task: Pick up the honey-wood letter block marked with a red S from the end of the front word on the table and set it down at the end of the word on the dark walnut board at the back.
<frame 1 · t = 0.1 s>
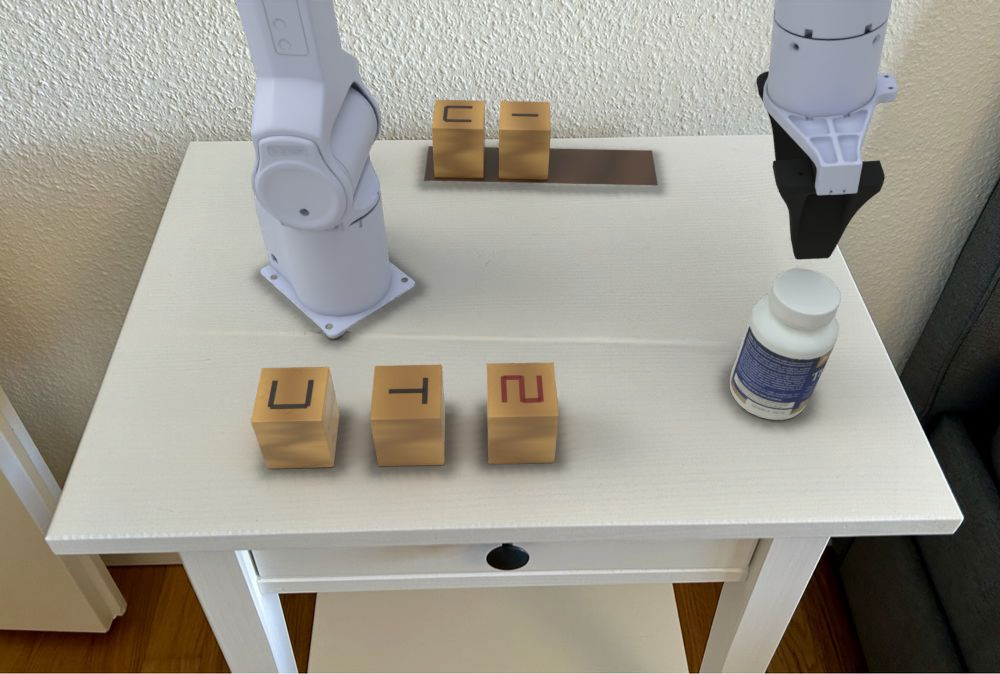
hand: (803, 215, 54), 11 cm above the table, tool pointing down, fingers open, 7 cm apart
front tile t: (412, 438, 55), on the table
word board: (540, 170, 74), on the table
board tile i: (523, 164, 74), point 1 cm above the table, touching word board
pacifier: (307, 189, 73), on the table
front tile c: (304, 441, 55), on the table
wooden letter cube: (519, 436, 55), on the table
pill bottle: (767, 392, 58), on the table
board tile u: (460, 163, 74), point 1 cm above the table, touching word board
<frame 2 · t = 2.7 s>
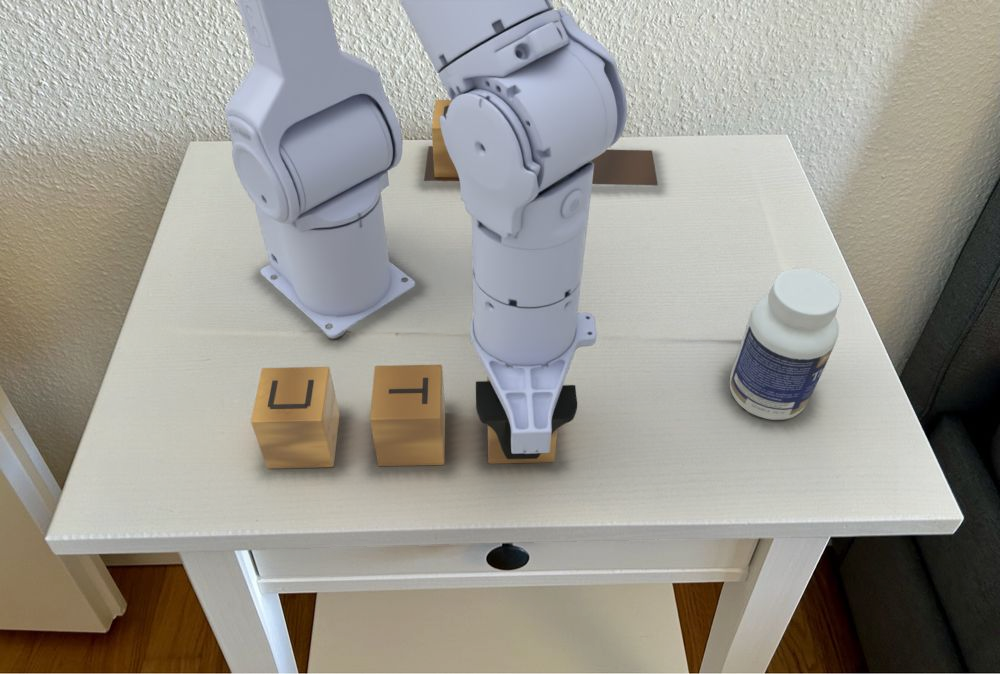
hand: (520, 423, 54), 1 cm above the table, tool pointing down, fingers closed on wooden letter cube, 4 cm apart
wooden letter cube: (519, 436, 55), on the table, touching gripper
everything else where it was.
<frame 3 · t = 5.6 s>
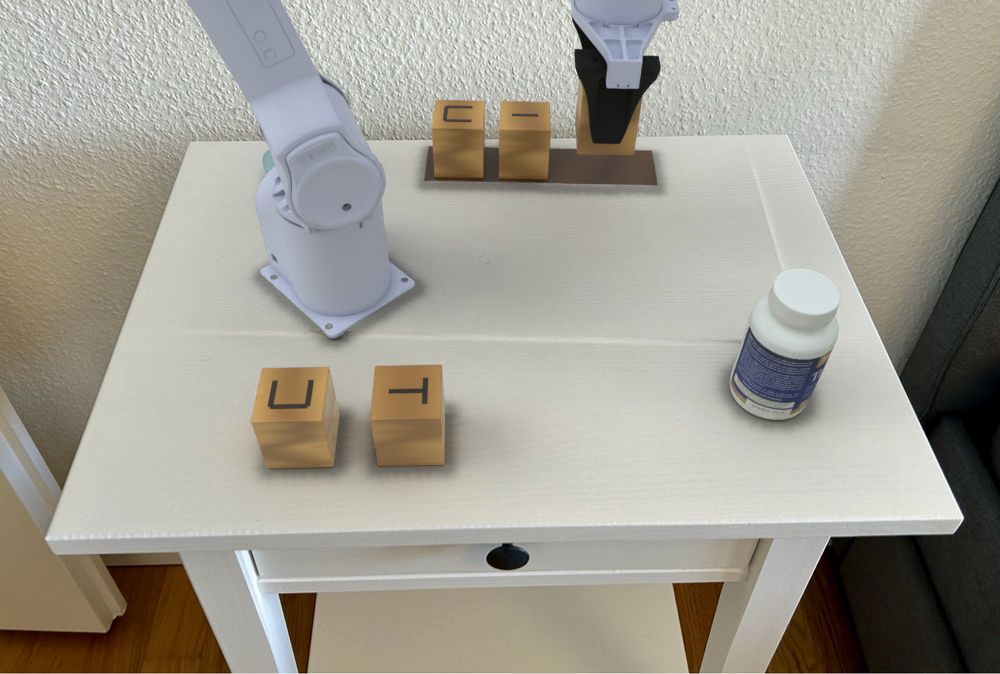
hand: (604, 122, 63), 9 cm above the table, tool pointing down, fingers closed on wooden letter cube, 4 cm apart
wooden letter cube: (603, 138, 64), point 8 cm above the table, touching gripper
everything else where it was.
when the fingers open (2 cm above the table, at t = 8.4 s): wooden letter cube stays where it is, resting on word board.
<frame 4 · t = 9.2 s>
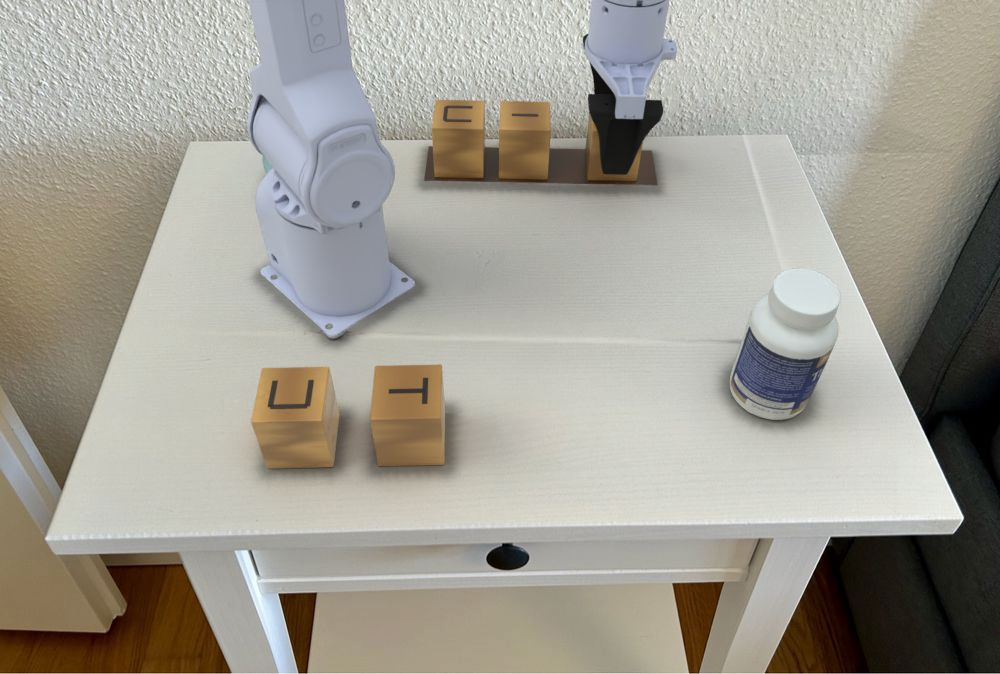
hand: (611, 144, 72), 3 cm above the table, tool pointing down, fingers open, 7 cm apart
wooden letter cube: (610, 166, 74), point 1 cm above the table, touching word board
everything else where it was.
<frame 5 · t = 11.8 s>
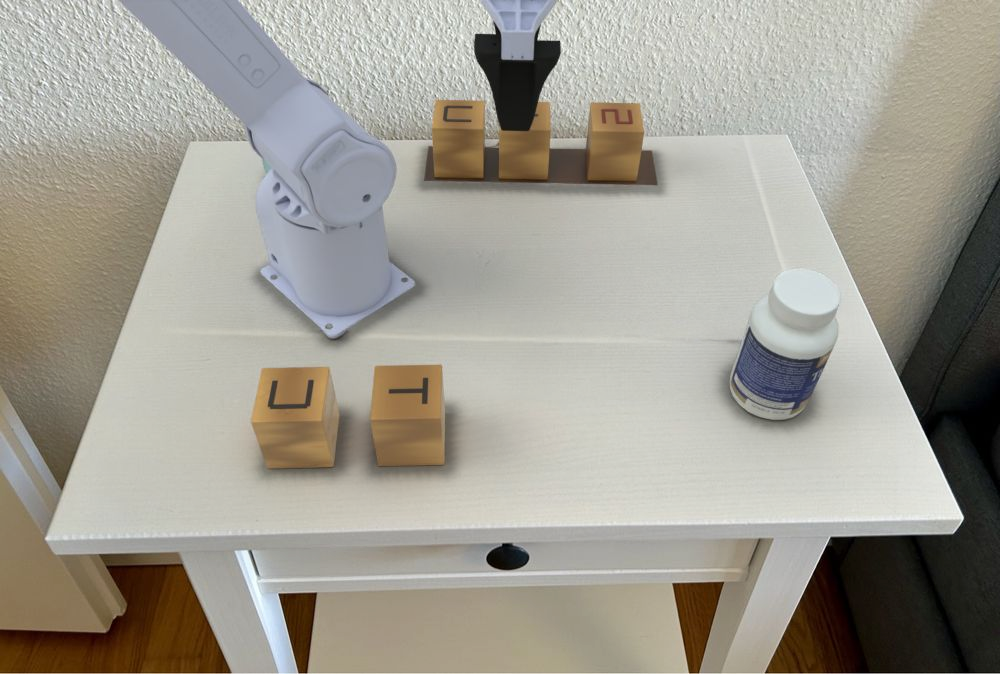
hand: (515, 98, 63), 10 cm above the table, tool pointing down, fingers open, 7 cm apart
nothing on the table moved.
at the end: wooden letter cube 0.2 cm from the target spot on the word board, point 0.6 cm above the word board's base; wooden letter cube tilted 0° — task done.
